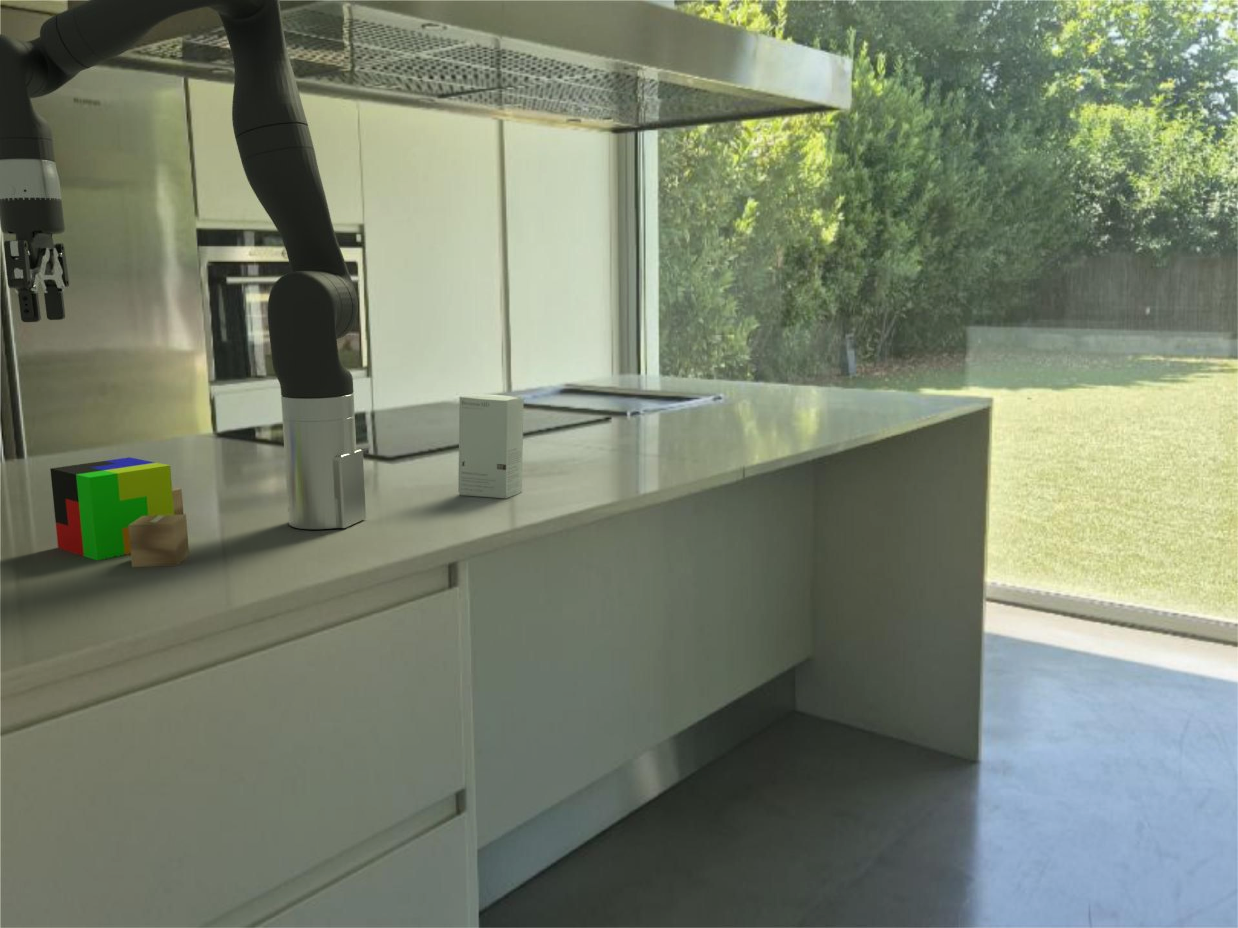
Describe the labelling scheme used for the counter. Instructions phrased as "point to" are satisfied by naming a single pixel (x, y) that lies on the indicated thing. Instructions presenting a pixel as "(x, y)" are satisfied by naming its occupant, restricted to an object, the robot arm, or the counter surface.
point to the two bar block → (177, 501)
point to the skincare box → (490, 445)
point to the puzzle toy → (107, 503)
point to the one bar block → (158, 540)
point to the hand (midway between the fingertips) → (44, 320)
